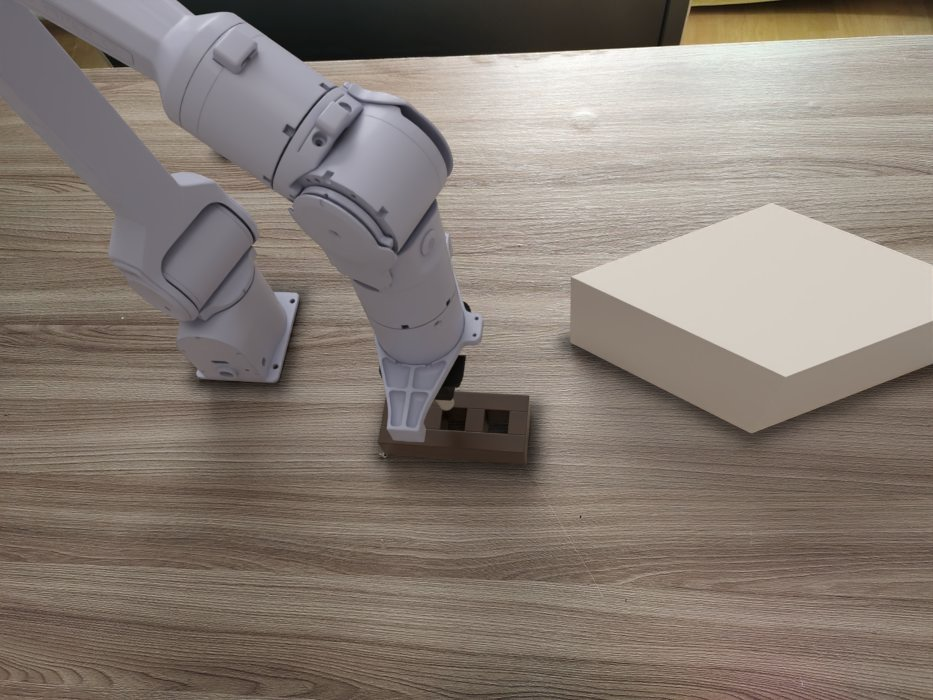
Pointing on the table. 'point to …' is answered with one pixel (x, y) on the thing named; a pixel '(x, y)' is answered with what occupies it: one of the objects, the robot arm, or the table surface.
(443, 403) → the beige thin cylinder
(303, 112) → the robot arm
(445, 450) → the pen stand
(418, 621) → the table surface
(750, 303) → the block
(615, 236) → the table surface
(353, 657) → the table surface
